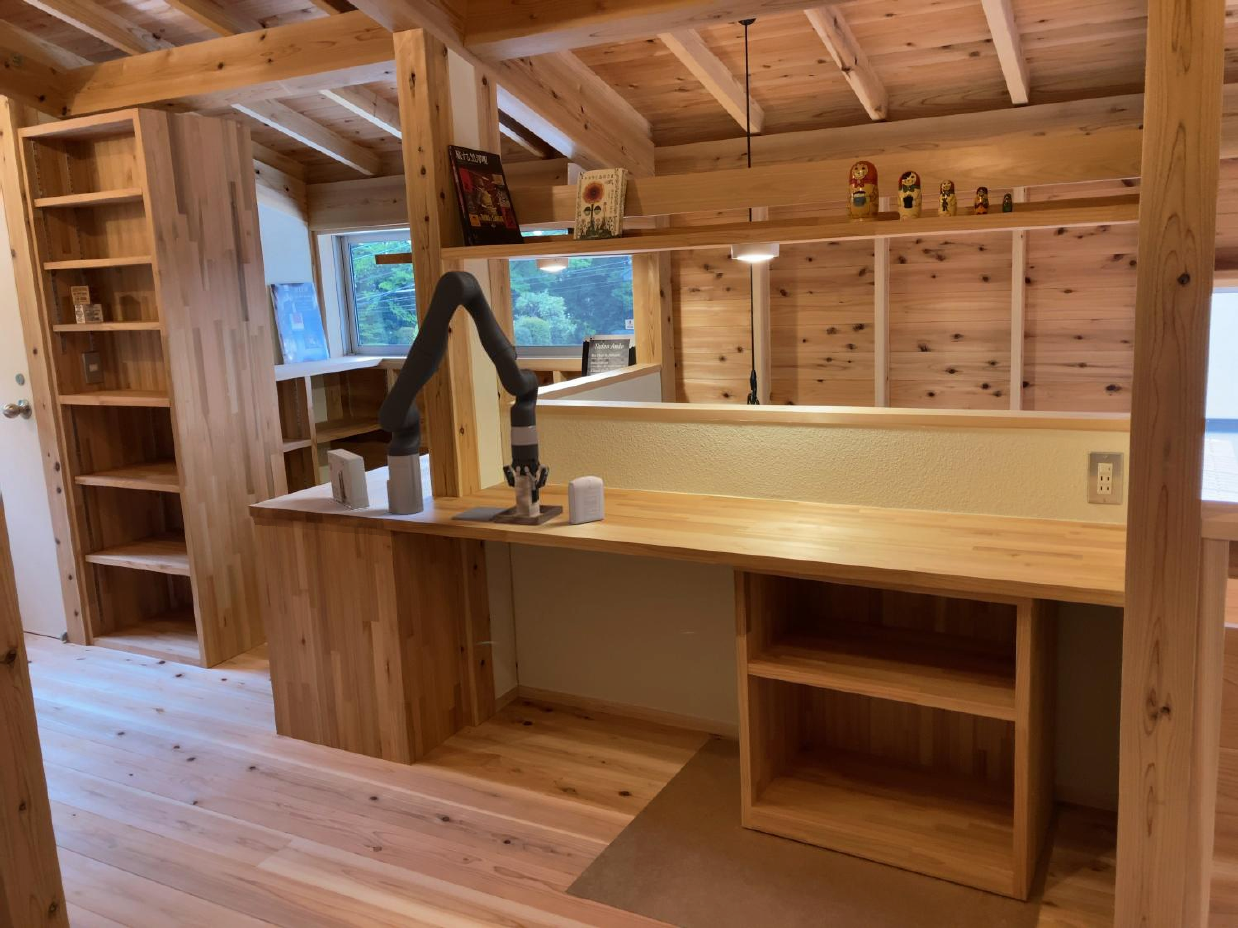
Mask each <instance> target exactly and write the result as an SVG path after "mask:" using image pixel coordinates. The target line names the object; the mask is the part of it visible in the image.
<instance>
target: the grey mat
mask: <svg viewBox="0 0 1238 928" xmlns="http://www.w3.org/2000/svg"><path fill="white" fill-rule="evenodd" d="M509 508H510V507H496V506H481V505H478V506H475V507H473V508H469V509H468V510H464V511H463V512H460V513H459V514H458V513H457V514H456V515H453V516H451V520H455V519H463V520H462V521H471V520H479V521H478V522H488V521H489V522H491V521H494V516H493V515H495V514H498V513H500V512H502V511H504V510H506V509H509ZM490 520H491V521H490Z"/></svg>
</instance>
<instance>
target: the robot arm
mask: <svg viewBox="0 0 1238 928" xmlns="http://www.w3.org/2000/svg"><path fill="white" fill-rule="evenodd" d="M459 306H462V307H463V308H464V309H465V310H466V311H467V313H468V314H469V315H470V317H471V318H472V321H473V322H474V324H475V327H476V331H477V335H478V338H479V341H480V343H481V346H482V348H483V350H484V352H485V353H486V354H487V357H489V359H490V360H491V362H492V364H493V365H494V367H495V370H496V373H497V376H498V379H499V381H500V384H501V385H502V387H503V389H504V390H505V392H507V394H509V395H510V396H513V397H515V402H514V403H513V404H512V405H511V407H510V410H509V419H510V420H509V421H510V448H511V449H510V451H511V459H512V460H511V464H507V465H504V466H503V467H502V470H503V473H504V475H505V478H506V482H507V484H508V486H509V488H511V487H513V488H514V489H515V476H520V475H523V476H530V482H531V487H532V490H531V491H532V503H536V502H537V501H538V500H539V501H540V489H541V488H543V487H545V486H546V484H547V480H548V475H549V471H550V468H549V466H543V465H541V463H540V461H539V456H540V455H539V454H540V452H539V435H538V429H537V415H536V407H537V402H538V401H537V400H538V397H539V396H538V394H539V380H538V375H536V373H535V372H534V371H533V370H531V369H529V368H522V369H520V368H519V365H518V364H517V362H516V361H517V359H518V352H517V351H516V349H515V348H514V347H513V344H512V343H511V342H510V340H509V338H508V337H507V336H506V334H505V333H504V330H503V329H502V328H501V325H500V324H499V323H498V321H497V319H496V316H495V315H494V314H493V311H492V309H491V307H490V305H489V302H488V301H487V299H486V296H485V294H484V292H483V289H482V287H481V285H480V282H478V279H477V277H475V275H474V274H472V273H470V272H468V271H462V270H455V271H454V270H451V271H447V272H445V273H443V274H442V275H441V277H440V278H439V279H438V280H437V283H436V286H435V289H434V292H433V295H432V298H431V300H430V304H429V307H428V309H427V312H426V314H425V317H424V319H423V321H422V323H421V325H420V328H419V329H418V331H417V335H416V336H415V339H414V340H413V343H412V344H411V347H410V349H409V351H408V354H407V355H406V358H405V360H404V362H403V365H402V366H401V368H400V371H399V374H398V376H397V378H396V380H395V382H394V385H392V388H390V391H389V393H388V394H387V396H386V398H385V399H384V401H383V403H382V405H381V406H380V408H379V411H378V424H379V426H380V427H381V429H382V430H384V431H385V432H387V433H392V438H391V441H390V442H389V443H388V444H387V446H386V454H387V457H386V459H387V468H388V469H387V470H388V479H387V480H386V491H387V503H388V512H389V513H393V514H396V515H409V514H410V515H411V514H415V513H419V512H422V511H424V509H425V508H424V507H425V506H424V497H423V486H422V485H423V484H422V482H423V481H422V471H421V470H422V469H421V460H420V445H421V442H422V429H421V427H422V426H421V414H420V411H419V407H418V405H417V403H416V402H415V401H414V400H415V398H416V397H417V395H418V393H419V392H420V391H421V390H422V388H424V387H425V385H426V384H427V383H428V382H429V381H430V380H431V379H432V378H433V376H434V375H435V374H436V372H437V370H438V369H439V367H440V365H441V363H442V361H443V358H444V356H445V354H446V351H447V346H448V334H449V333H448V332H449V326H450V323H451V320H452V319H453V316H454V314H455V312H456V310H457V309H458V307H459ZM538 471H539V472H538ZM514 472H515V474H514ZM537 473H539V477H538V476H537ZM514 475H515V476H514ZM534 476H535V477H534ZM533 477H534V478H533ZM514 491H515V490H514ZM515 493H516V491H515Z"/></svg>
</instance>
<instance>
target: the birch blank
mask: <svg viewBox="0 0 1238 928" xmlns="http://www.w3.org/2000/svg"><path fill="white" fill-rule="evenodd" d="M538 473H539V472H537V476H538ZM514 477H515V488H514V491H516V492H515V503H516V504H515V505H516V508H517V513H516V516H528V517H538V516H540V515H541V512H540V510H539V505H540V499H539V500H538V501H537V502H536V503H532V491H531V490H532V487H531V482H530V476H523V475H520V476H516V475H515V476H514ZM534 477H535V476H534ZM534 477H533V478H534Z"/></svg>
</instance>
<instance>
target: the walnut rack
mask: <svg viewBox="0 0 1238 928" xmlns="http://www.w3.org/2000/svg"><path fill="white" fill-rule="evenodd" d="M563 507H564V506H563V505H554V504H553V505H552V504H551V505H550V504H539V510H540V513H542V514H540V515H538V516H536V517H528V516H517V508H516V504H515V505H512V506H511V507H508V508H509V509H506V510H504V511H502V512H500V513H498V514H495V515H493V516H494V519H493V523H499V524H515V525H527V526H528V525H529V526H540V525H542V524H544V523H546V522H547V521H550V520H551V519H554V518H556V517H557V516H559V515H561V514H563V513H564V508H563Z"/></svg>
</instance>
